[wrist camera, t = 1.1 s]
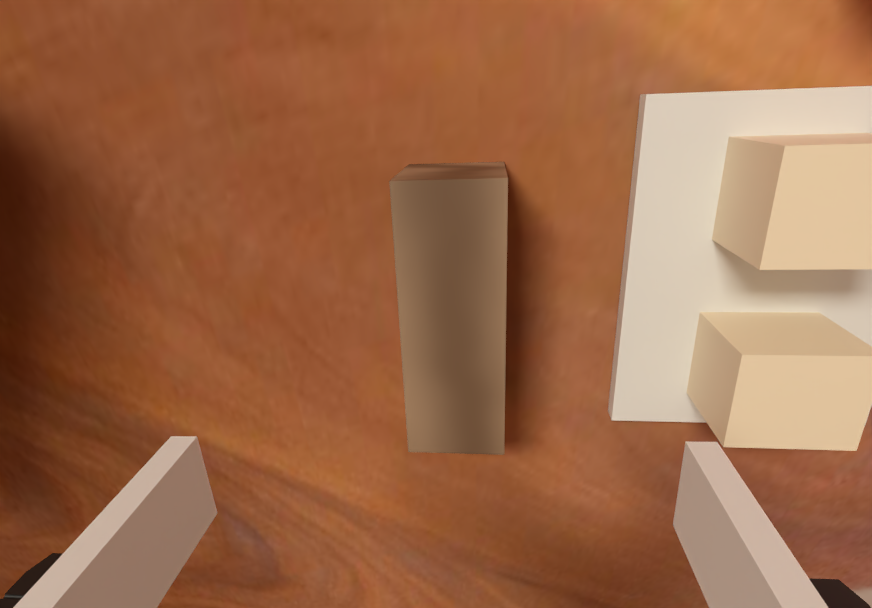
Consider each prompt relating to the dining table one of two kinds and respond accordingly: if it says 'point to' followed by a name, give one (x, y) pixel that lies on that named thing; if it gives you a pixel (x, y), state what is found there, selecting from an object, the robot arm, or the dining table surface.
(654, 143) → the post board
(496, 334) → the lintel block
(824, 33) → the dining table surface
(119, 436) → the dining table surface
